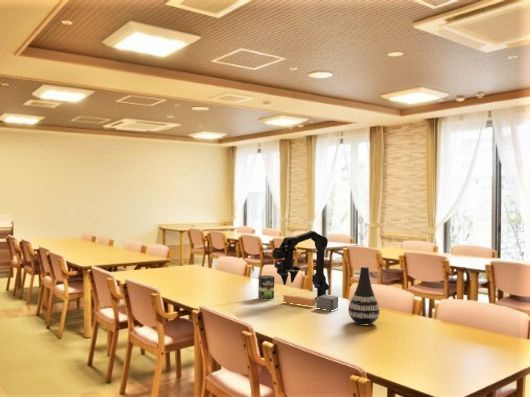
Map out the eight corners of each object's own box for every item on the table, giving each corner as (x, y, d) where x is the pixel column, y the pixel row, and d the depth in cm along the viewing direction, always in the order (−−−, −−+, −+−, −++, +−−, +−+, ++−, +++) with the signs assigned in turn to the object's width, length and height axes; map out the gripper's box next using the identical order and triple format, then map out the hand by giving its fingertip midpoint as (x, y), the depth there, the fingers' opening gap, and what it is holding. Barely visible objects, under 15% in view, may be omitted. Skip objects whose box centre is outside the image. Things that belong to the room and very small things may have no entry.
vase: (356, 328, 241) (357, 269, 241) (343, 320, 256) (344, 265, 256) (385, 327, 245) (386, 268, 245) (370, 319, 261) (371, 264, 260)
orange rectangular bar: (283, 303, 295) (283, 295, 295) (286, 302, 298) (286, 294, 298) (312, 308, 284) (312, 299, 284) (315, 307, 287) (315, 298, 287)
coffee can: (276, 300, 302) (276, 277, 302) (260, 301, 300) (260, 278, 299) (271, 296, 312) (272, 275, 312) (256, 297, 310) (256, 275, 309)
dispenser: (316, 309, 281) (316, 296, 281) (322, 306, 287) (322, 294, 287) (332, 311, 275) (332, 298, 275) (337, 308, 282) (338, 296, 282)
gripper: (284, 255, 307) (284, 280, 307) (269, 258, 291) (269, 284, 291) (300, 257, 301) (300, 282, 301) (285, 260, 285) (285, 286, 285)
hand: (288, 283), depth 295 cm, fingers open, 9 cm apart
